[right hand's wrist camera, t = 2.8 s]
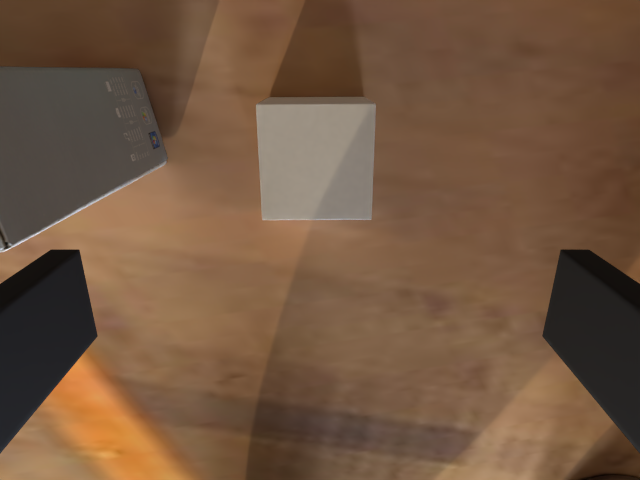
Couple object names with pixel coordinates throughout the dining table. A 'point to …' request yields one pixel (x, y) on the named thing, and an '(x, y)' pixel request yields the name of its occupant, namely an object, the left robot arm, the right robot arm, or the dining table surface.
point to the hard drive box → (69, 143)
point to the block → (316, 157)
